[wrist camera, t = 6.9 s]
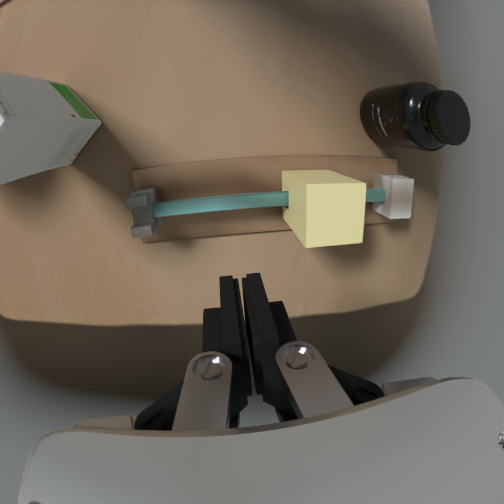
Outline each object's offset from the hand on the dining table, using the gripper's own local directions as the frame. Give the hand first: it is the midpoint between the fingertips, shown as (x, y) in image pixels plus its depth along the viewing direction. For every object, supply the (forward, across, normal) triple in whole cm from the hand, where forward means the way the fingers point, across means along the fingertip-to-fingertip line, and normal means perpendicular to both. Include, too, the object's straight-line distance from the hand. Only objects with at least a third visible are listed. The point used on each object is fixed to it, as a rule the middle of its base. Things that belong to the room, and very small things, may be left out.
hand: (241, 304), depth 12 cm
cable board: (+19, -5, 0) cm, 19 cm away
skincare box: (+20, +18, -11) cm, 28 cm away
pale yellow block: (+19, -8, 0) cm, 20 cm away
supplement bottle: (+19, -18, -9) cm, 28 cm away
